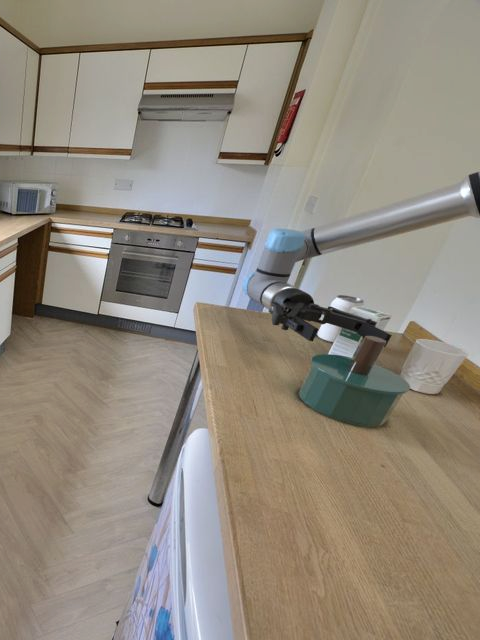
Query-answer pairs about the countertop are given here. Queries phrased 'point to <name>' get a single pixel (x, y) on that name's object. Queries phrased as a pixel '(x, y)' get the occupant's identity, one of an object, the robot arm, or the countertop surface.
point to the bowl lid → (362, 369)
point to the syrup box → (349, 339)
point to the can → (343, 304)
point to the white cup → (431, 365)
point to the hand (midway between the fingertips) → (350, 338)
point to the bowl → (346, 401)
